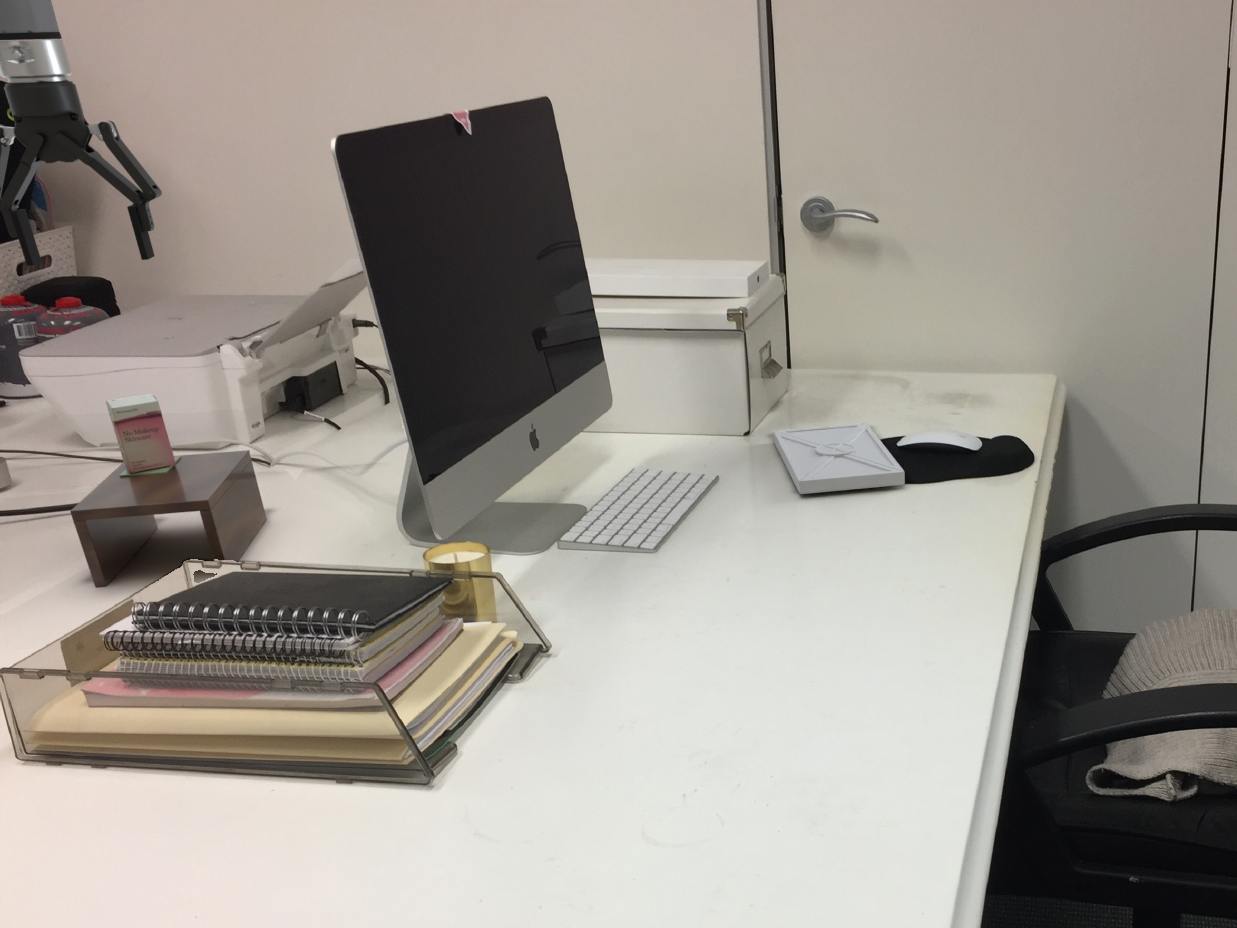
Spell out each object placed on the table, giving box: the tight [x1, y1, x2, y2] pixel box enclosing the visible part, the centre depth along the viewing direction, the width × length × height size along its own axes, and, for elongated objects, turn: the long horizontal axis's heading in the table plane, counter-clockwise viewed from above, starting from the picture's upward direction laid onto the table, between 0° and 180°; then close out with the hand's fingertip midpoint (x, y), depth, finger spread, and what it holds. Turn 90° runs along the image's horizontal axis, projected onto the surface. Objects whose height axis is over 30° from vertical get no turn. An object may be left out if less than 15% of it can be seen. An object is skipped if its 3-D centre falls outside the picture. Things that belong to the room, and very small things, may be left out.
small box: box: [105, 393, 176, 473], centre depth 144 cm, size 5×4×8 cm
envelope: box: [772, 422, 906, 495], centre depth 168 cm, size 24×2×14 cm
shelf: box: [69, 449, 268, 588], centre depth 144 cm, size 14×18×9 cm
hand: (91, 261), depth 159 cm, fingers open, 13 cm apart
